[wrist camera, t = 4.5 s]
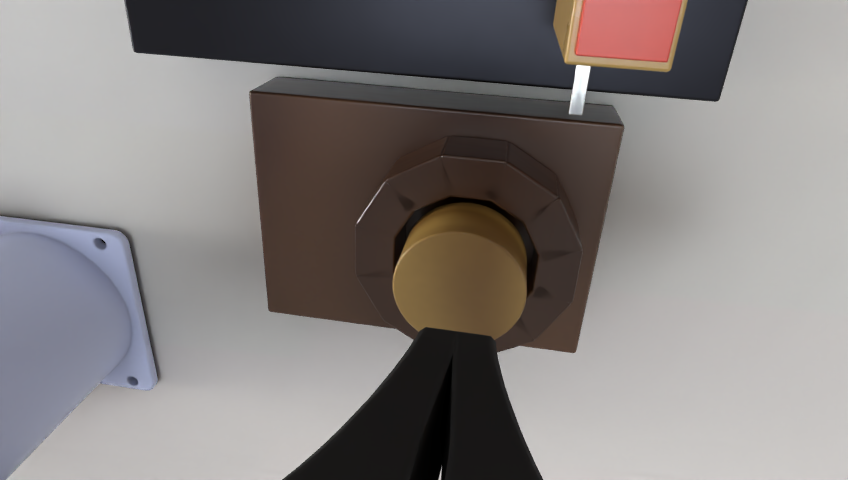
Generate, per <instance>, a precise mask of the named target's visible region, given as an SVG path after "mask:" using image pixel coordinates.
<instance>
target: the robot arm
mask: <svg viewBox="0 0 848 480" xmlns="http://www.w3.org/2000/svg"><path fill="white" fill-rule="evenodd" d="M100 238H101V239H103V240H104V241H105V243H106V244H104V243H103V242H102V241H101V239H100ZM157 382H158V378H157V373H156V369H155V364H154V359H153V354H152V350H151V345H150V340H149V335H148V331H147V326H146V321H145V316H144V312H143V307H142V302H141V297H140V293H139V288H138V283H137V278H136V274H135V269H134V264H133V259H132V255H131V250H130V245H129V241H128V239H127V237H126V236H125V235H124V234H123V233H121V232H120V231H116V230H111V229H102V228H94V227H86V226H78V225H70V224H62V223H54V222H46V221H38V220H30V219H21V218H13V217H5V216H0V480H6V479H7V478H8V477H9V476H10V475H11V474H12V473H13V472H14V471H15V470H16V469H17V468H18V467H19V466H20V465H21V463H22V462H23V461H24V460H25V459H26V458H27V457H28V456H29V455H30V454H31V453H32V452H33V451H34V450H35V449H36V448H37V447H38V446H39V445H40V444H41V443H42V442H43V441H44V440H45V439H46V438H47V437H48V436H49V435H50V434H51V433H52V432H53V431H54V430H55V428H56V427H57V426H58V425H59V424H60V423H61V422H62V421H63V420H64V419H65V418H66V417H67V416H68V415H69V414H70V413H71V412H72V411H73V410H74V409H75V408H76V407H77V406H78V405H79V404H80V403H81V402H82V401H83V400H84V399H85V398H86V397H87V396H88V395H89V393H90V392H91V391H92V390H93V389H94V388H95V387H96V386H97V385H98V384H99V383H102V384H108V385H114V386H121V387H127V388H133V389H140V390H151V389H153V388H154V386H155V385H156V384H157ZM441 467H442V475H441V480H543V479H542V476H541V474H540V472H539V470H538V468H537V466H536V464H535V462H534V460H533V457H532V455H531V453H530V451H529V449H528V446H527V444H526V442H525V439H524V437H523V435H522V432H521V430H520V427H519V425H518V422H517V419H516V417H515V414H514V411H513V408H512V406H511V403H510V400H509V397H508V394H507V391H506V388H505V385H504V381H503V377H502V374H501V370H500V366H499V361H498V356H497V349H496V341H495V340H494V339H493V338H492V337H491V336H488V335H480V334H473V333H466V332H459V331H452V330H444V329H437V328H430V327H425V328H423V329H422V330H420V331H419V333H418V334H417V336H416V338H415V339H414V341H413V342H412V344H411V346H410V347H409V349H408V350H407V351H406V353H405V354H404V356H403V357H402V358H401V360H400V361H399V362H398V364H397V365H396V366H395V368H394V369H393V370H392V372H391V373H390V374H389V375H388V376H387V378H386V379H385V380H384V381H383V382H382V384H381V385H380V386H379V387H378V388H377V390H376V391H375V392H374V393H373V394H372V395H371V397H370V398H369V399H368V400H367V401H366V402H365V403H364V404H363V405H362V406H361V407H360V408H359V410H358V411H357V412H356V413H355V414H354V415H353V416H352V417H351V418H350V419H349V420H348V421H347V422H346V423H345V424H344V425H343V426H342V427H341V428H340V429H339V430H338V431H337V432H336V433H335V434H334V435H333V436H332V437H331V438H330V439H329V440H328V441H327V442H326V443H325V444H324V445H323V446H321V447H320V448H319V449H318V450H317V451H316V452H315V453H314V454H313V455H311V456H310V457H309V458H308V459H307V460H306V461H305V462H303V463H302V464H301V465H300V466H299V467H298V468H296V469H295V470H294V471H293V472H291V473H290V474H289V475H288V476H286V477H285V478H284V479H283V480H438V479H439V475H440V471H441Z"/></svg>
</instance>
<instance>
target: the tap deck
mask: <svg viewBox="0 0 848 480" xmlns="http://www.w3.org/2000/svg"><path fill="white" fill-rule="evenodd" d="M124 1H125V7H126V12H127V18H128V24H129V29H130V35H131V41H132V46H133V51H134V52H136V53H146V54H157V55H169V56H181V57H193V58H205V59H217V60H228V61H240V62H252V63H264V64H276V65H288V66H299V67H311V68H323V69H335V70H347V71H359V72H370V73H382V74H394V75H406V76H418V77H430V78H442V79H453V80H465V81H477V82H489V83H501V84H513V85H524V86H536V87H548V88H560V89H572V92H571V98H570V104H569V110H568V114H571V115H582V114H583V108H584V103H585V97H586V92H587V91H595V92H607V93H619V94H631V95H643V96H655V97H667V98H678V99H690V100H702V101H714V102H716V101H719V99H720V96H721V92H722V89H723V85H724V82H725V78H726V75H727V71H728V68H729V64H730V61H731V57H732V54H733V50H734V47H735V43H736V40H737V36H738V33H739V29H740V26H741V22H742V19H743V15H744V12H745V8H746V5H747V1H748V0H688V2H687V6H686V10H685V14H684V18H683V22H682V26H681V31H680V35H679V39H678V43H677V47H676V51H675V55H674V60H673V64H672V68H671V70H670V71H668V72H658V71H645V70H633V69H620V68H608V67H595V66H582V65H570V64H566V63H565V62H564V59H563V56H562V52H561V49H560V46H559V43H558V40H557V36H556V33H555V30H554V26H553V22H554V15H555V8H556V2H557V0H124Z"/></svg>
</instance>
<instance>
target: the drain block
mask: <svg viewBox="0 0 848 480" xmlns="http://www.w3.org/2000/svg"><path fill="white" fill-rule="evenodd" d="M249 98H250V109H251V120H252V131H253V142H254V153H255V164H256V175H257V187H258V198H259V209H260V220H261V231H262V242H263V253H264V265H265V276H266V287H267V298H268V309H269V311H270V312H277V313H284V314H291V315H299V316H306V317H313V318H321V319H328V320H335V321H342V322H350V323H357V324H364V325H372V326H379V327H386V328H394V329H397V330H399V331H401V332H402V333H404V334H405V335H407V336H409V337H410V338H412V339H413V340H414V339H415V338H416V336H417V334H418V333H419V332H418V331H417V330H416V329H415V328H413V327H412V326H411V325H410V324H409V323H408V322H407V320H406V319H405V318H404V317H403V315H402V314H401V312H400V310H399V308H398V306H397V304H396V301H395V298H394V294H393V275H394V271H395V267H396V265H397V263H398V260H399V258H400V255H401V253H402V250H403V248H404V245H405V243H406V240H407V238H408V236H409V233H410V231H411V230H412V228H413V226H414V225H415V224H416V223H417V221H418V220H419V219H420V218H421V217H423V216H424V215H425V214H426V213H428V212H429V211H431V210H433V209H435V208H437V207H440V206H443V205H446V204H451V203H461V202H464V203H474V204H479V205H483V206H486V207H489V208H491V209H493V210H495V211H497V212H499V213H500V214H502V215H503V216H504V217H506V218H507V219H508V220H509V221H510V222H511V223H512V224H513V225H514V226H515V227H516V229H517V230H518V232H519V233H520V235H521V237H522V239H523V242H524V244H525V248H526V254H527V297H526V303H525V307H524V310H523V312H522V314H521V316H520V318H519V319H518V321H517V322H516V323H515V325H514V326H513V327H512V328H511V329H510V330H509V331H508V332H506V333H505V334H503V335H502V336H501V337H499V338H497V339H495V341H496V349H497V352H500V351H503V350H507V349H510V348H513V347H517V346H526V347H533V348H540V349H548V350H555V351H562V352H570V353H575V352H576V350H577V345H578V341H579V336H580V331H581V327H582V322H583V317H584V313H585V308H586V303H587V299H588V294H589V289H590V285H591V280H592V275H593V271H594V266H595V261H596V257H597V252H598V247H599V243H600V238H601V233H602V229H603V224H604V219H605V215H606V210H607V205H608V201H609V196H610V191H611V187H612V182H613V178H614V173H615V168H616V164H617V159H618V154H619V150H620V145H621V140H622V136H623V131H624V125H623V123H622V121H621V119H620V117H619V115H618V113H617V111H616V110H615V108H614V107H613V106H606V105H594V104H584V108H583V114H582V115H571V114H568V110H569V104H570V102H560V101H548V100H537V99H525V98H514V97H502V96H491V95H479V94H468V93H457V92H445V91H434V90H422V89H411V88H399V87H388V86H376V85H365V84H353V83H342V82H330V81H319V80H307V79H296V78H284V77H276V78H274V79H272V80H270V81H268V82H266V83H264V84H263V85H261V86H259V87H257V88H255V89H253V90H251V91H250V92H249Z"/></svg>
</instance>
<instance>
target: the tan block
mask: <svg viewBox="0 0 848 480" xmlns="http://www.w3.org/2000/svg"><path fill="white" fill-rule="evenodd" d="M687 2H688V0H557V2H556V8H555V15H554V22H553V26H554V30H555V33H556V36H557V40H558V43H559V46H560V49H561V52H562V56H563V59H564V62H565V63H566V64H570V65H582V66H595V67H608V68H620V69H633V70H645V71H658V72H668V71H670V70H671V68H672V64H673V60H674V55H675V51H676V47H677V43H678V39H679V35H680V31H681V26H682V22H683V18H684V14H685V10H686V6H687Z"/></svg>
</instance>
